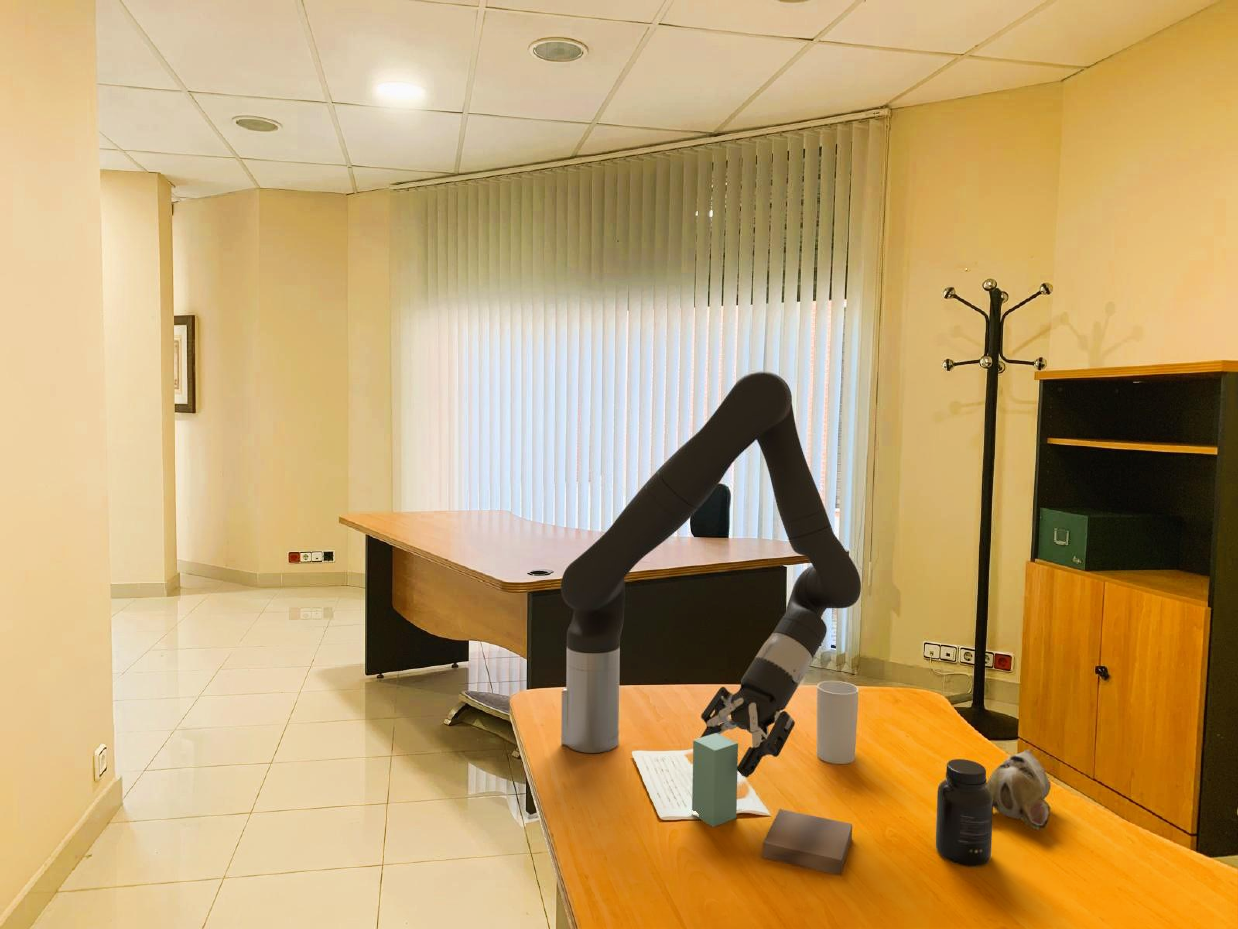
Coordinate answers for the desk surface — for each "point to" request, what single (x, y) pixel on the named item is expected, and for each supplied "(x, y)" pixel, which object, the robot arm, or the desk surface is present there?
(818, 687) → the mug
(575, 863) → the desk surface
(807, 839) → the base
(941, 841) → the supplement bottle
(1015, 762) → the ceramic sculpture
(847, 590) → the robot arm
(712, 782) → the pillar
